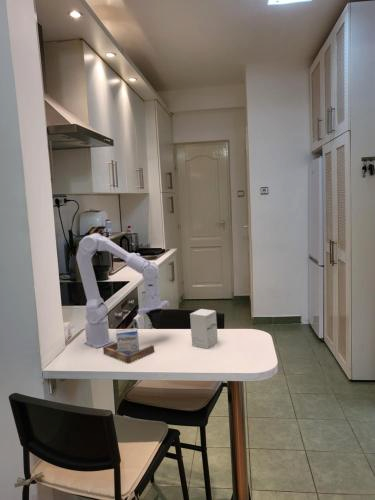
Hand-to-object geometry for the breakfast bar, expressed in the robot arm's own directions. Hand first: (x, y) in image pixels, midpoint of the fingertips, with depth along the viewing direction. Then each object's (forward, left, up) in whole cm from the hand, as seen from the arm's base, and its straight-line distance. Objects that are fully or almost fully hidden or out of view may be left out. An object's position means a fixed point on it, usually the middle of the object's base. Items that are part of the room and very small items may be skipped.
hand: (155, 327), depth 162 cm
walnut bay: (0, -14, -6) cm, 15 cm away
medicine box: (0, -14, -6) cm, 15 cm away
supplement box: (+18, +9, -6) cm, 21 cm away
